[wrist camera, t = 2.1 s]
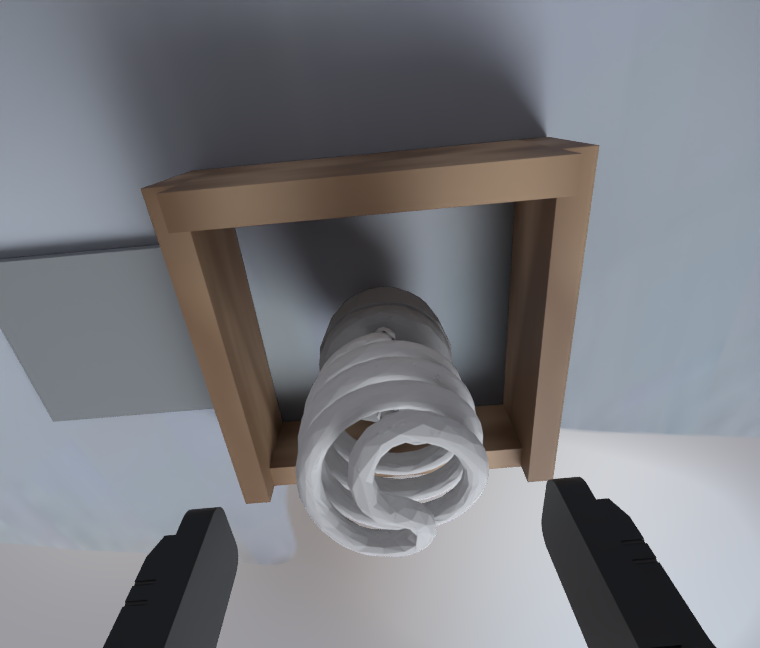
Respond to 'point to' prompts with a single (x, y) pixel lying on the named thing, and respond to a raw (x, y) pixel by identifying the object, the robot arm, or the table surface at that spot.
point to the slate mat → (101, 333)
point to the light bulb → (388, 428)
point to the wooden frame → (368, 197)
